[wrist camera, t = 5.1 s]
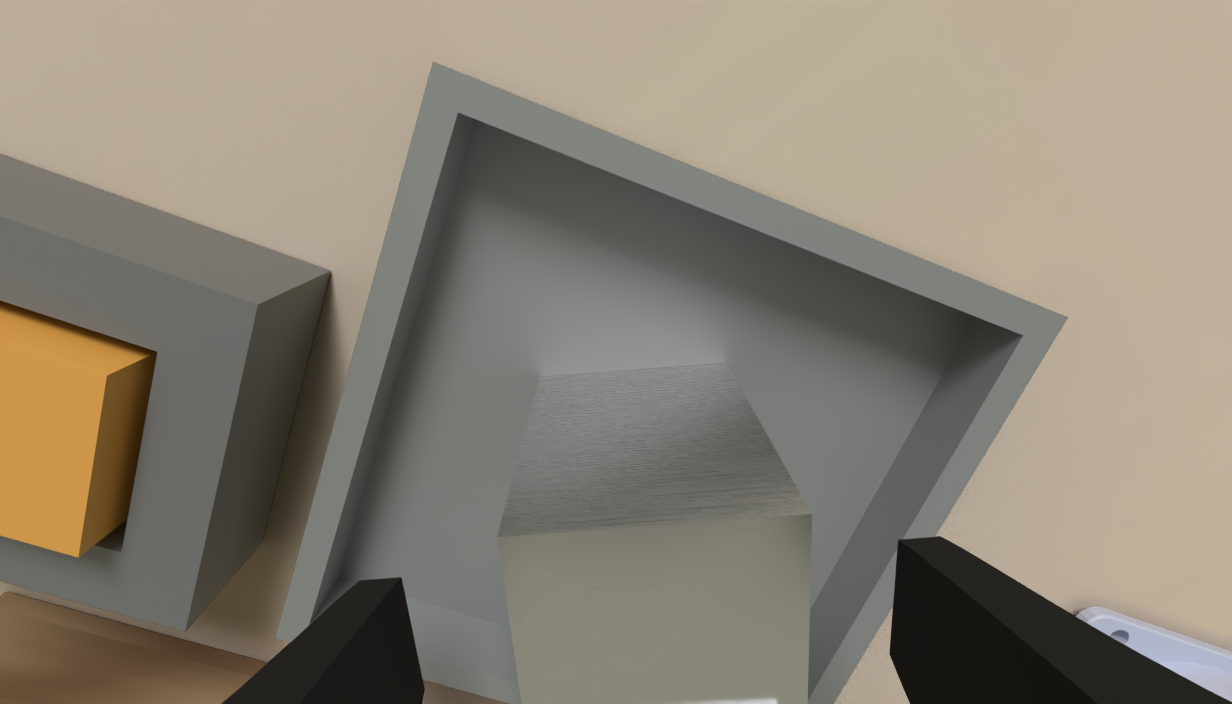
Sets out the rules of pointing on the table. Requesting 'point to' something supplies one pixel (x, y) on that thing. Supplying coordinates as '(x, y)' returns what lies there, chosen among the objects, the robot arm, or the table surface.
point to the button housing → (166, 383)
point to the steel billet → (655, 545)
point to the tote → (635, 339)
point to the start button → (67, 429)
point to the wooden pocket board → (106, 661)
